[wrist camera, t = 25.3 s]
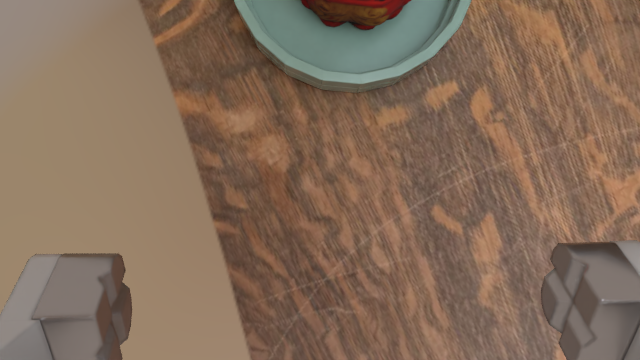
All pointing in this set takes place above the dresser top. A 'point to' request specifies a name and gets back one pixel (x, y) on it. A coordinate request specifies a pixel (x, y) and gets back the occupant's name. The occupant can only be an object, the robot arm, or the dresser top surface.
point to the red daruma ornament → (355, 11)
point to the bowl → (350, 42)
